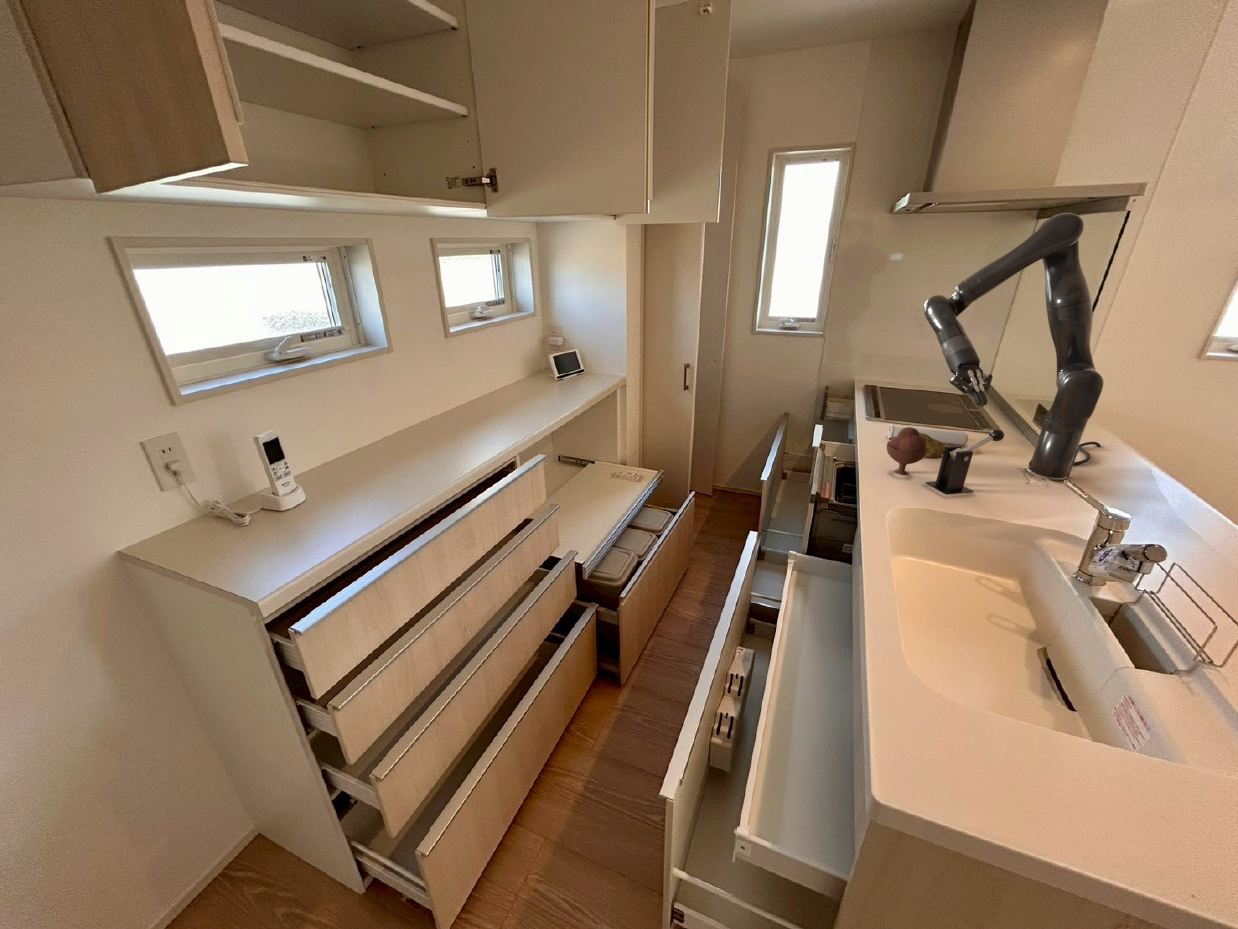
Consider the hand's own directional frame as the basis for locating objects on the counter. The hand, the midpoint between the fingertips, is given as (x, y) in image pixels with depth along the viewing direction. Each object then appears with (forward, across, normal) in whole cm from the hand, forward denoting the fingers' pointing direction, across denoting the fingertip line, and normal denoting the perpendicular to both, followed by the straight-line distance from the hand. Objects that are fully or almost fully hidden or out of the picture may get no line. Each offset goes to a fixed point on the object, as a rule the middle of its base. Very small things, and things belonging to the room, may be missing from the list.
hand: (982, 405), depth 141 cm
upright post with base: (+21, -10, +12) cm, 26 cm away
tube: (-5, +14, +38) cm, 41 cm away
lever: (+12, -4, +3) cm, 13 cm away
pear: (+3, +2, +30) cm, 30 cm away
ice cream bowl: (+12, -16, +20) cm, 29 cm away
